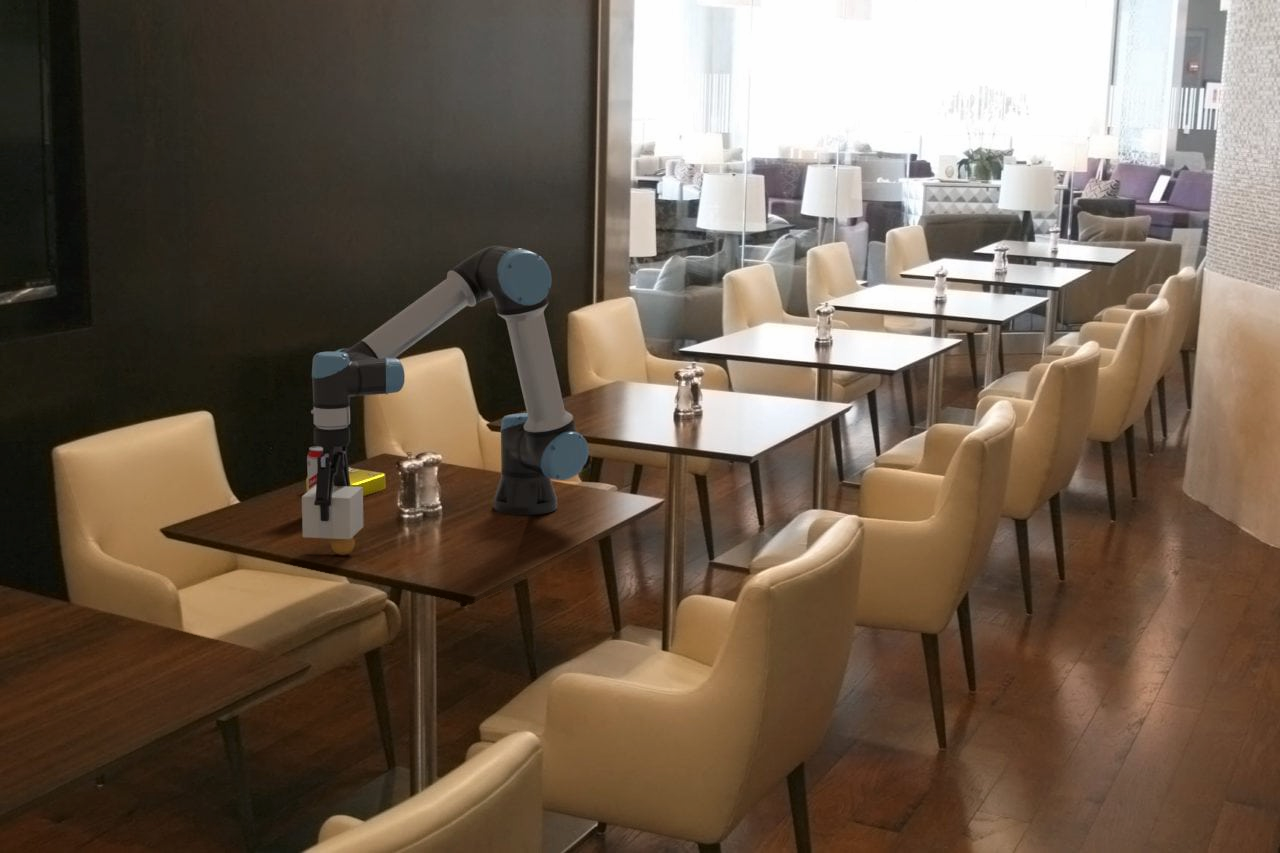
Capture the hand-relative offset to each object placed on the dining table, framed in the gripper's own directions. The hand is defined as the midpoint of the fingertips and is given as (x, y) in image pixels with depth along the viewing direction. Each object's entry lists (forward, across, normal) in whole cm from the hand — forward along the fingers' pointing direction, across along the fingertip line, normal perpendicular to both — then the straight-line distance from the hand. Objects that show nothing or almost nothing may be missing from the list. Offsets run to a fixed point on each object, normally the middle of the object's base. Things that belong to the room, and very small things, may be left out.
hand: (333, 528), depth 318 cm
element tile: (+6, -55, -13) cm, 56 cm away
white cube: (+1, 0, 0) cm, 1 cm away
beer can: (+6, -31, -12) cm, 34 cm away
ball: (+3, 0, +2) cm, 4 cm away
